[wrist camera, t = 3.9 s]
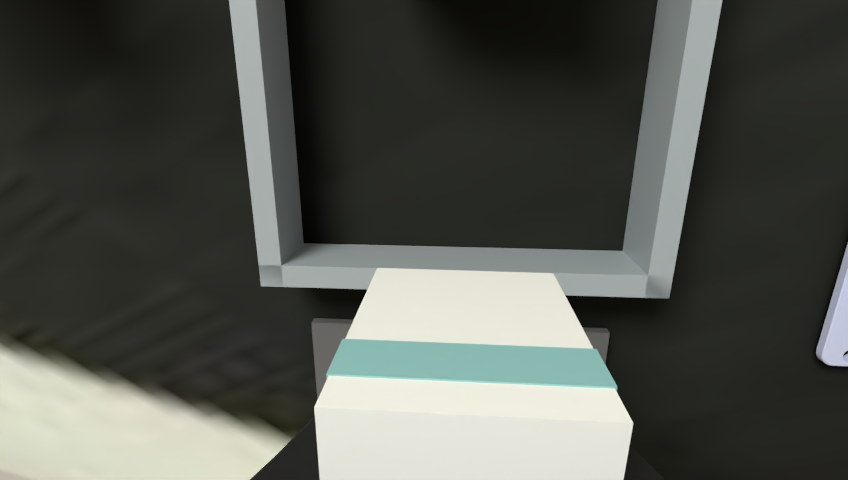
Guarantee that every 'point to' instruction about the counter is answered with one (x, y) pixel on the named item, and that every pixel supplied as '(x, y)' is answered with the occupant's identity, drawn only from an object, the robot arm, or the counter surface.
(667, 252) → the tray rim
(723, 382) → the counter surface
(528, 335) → the carton
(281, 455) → the robot arm
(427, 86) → the counter surface
